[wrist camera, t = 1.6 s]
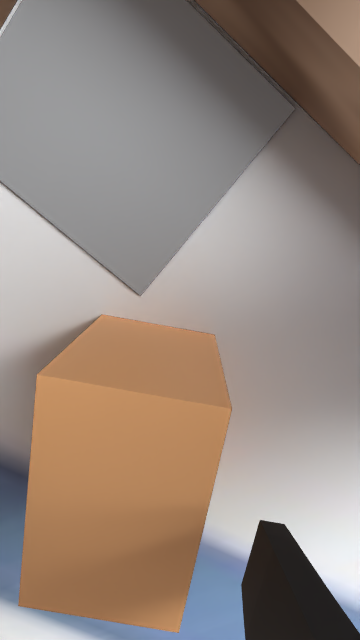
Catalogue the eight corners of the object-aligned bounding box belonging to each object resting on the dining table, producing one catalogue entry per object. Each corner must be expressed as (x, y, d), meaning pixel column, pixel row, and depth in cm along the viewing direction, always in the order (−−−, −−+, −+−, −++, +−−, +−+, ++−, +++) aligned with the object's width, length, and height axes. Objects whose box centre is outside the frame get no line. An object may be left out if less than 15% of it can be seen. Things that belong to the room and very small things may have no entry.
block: (214, 334, 14) (232, 408, 8) (183, 481, 15) (178, 632, 10) (102, 314, 14) (37, 374, 8) (83, 464, 15) (18, 606, 10)
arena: (462, 199, 12) (568, 186, 9) (157, 503, 16) (147, 579, 12) (71, -206, 10) (7, -439, 6) (-185, 257, 13) (-313, 266, 10)
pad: (294, 109, 12) (295, 108, 11) (141, 295, 13) (140, 296, 13) (83, -99, 10) (83, -102, 10) (-55, 134, 12) (-57, 134, 12)
